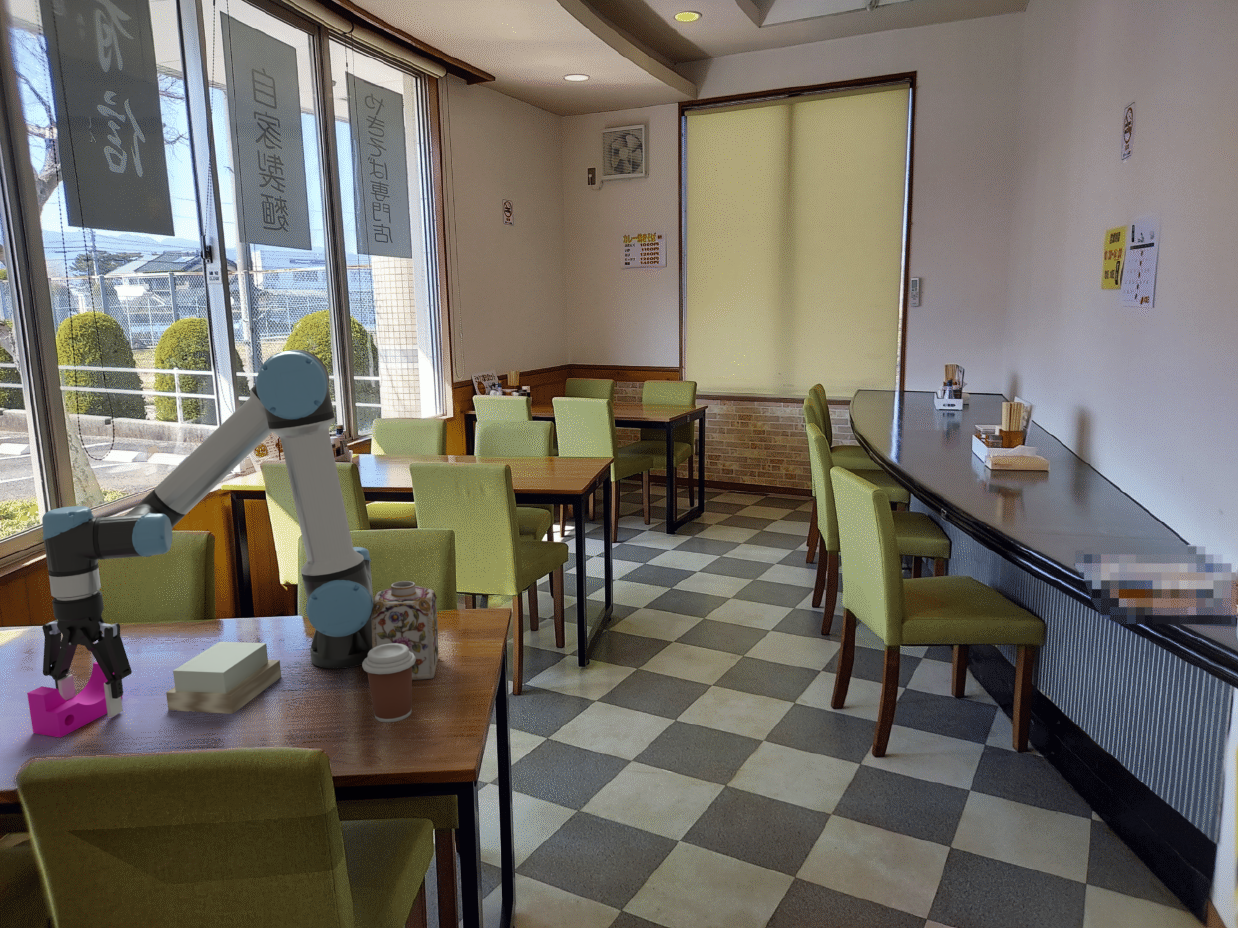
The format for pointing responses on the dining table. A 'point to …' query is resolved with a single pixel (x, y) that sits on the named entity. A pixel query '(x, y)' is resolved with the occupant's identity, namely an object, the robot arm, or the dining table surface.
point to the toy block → (67, 707)
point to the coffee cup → (390, 681)
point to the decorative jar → (408, 624)
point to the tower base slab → (226, 700)
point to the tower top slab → (220, 667)
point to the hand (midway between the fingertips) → (92, 712)
